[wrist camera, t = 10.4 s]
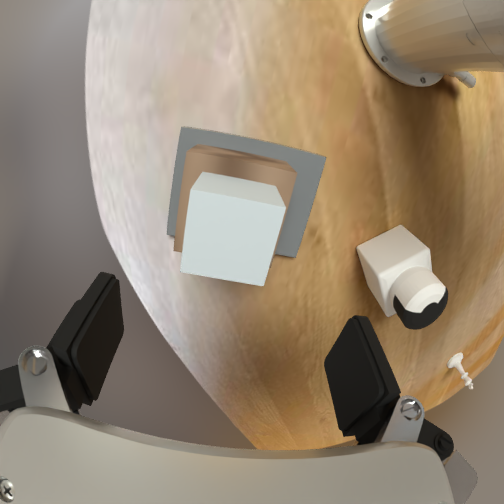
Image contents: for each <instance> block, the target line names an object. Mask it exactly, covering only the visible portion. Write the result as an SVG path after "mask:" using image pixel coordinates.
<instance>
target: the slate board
mask: <svg viewBox="0 0 504 504" xmlns="http://www.w3.org/2000/svg"><path fill="white" fill-rule="evenodd" d="M197 144H202V145H208V146H214V147H220V148H225V149H231V150H236V151H241V152H246V153H251V154H256V155H261V156H265V157H270V158H274V159H278V160H283V161H286V162H287V163H288V164H289V165H290V166H291V167H292V168H293V169H294V170H295V171H296V172H297V177H296V180H295V184H294V188H293V191H292V195H291V199H290V202H289V206H288V209H287V213H286V216H285V220H284V224H283V227H282V231H281V234H280V238H279V241H278V245H277V248H276V251H275V254H278V255H284V256H289V257H295V258H296V255H297V252H298V249H299V246H300V243H301V240H302V237H303V234H304V230H305V227H306V224H307V221H308V218H309V214H310V211H311V208H312V205H313V201H314V198H315V195H316V191H317V188H318V185H319V181H320V178H321V174H322V171H323V167H324V164H325V160H326V157H325V156H322V155H319V154H315V153H312V152H308V151H304V150H301V149H297V148H293V147H289V146H285V145H281V144H277V143H272V142H268V141H264V140H259V139H254V138H250V137H245V136H240V135H234V134H229V133H223V132H218V131H212V130H205V129H199V128H192V127H185V126H183V127H181V131H180V137H179V143H178V149H177V155H176V161H175V168H174V175H173V182H172V190H171V198H170V207H169V216H168V226H167V235H172V236H175V231H176V222H177V214H178V206H179V198H180V191H181V184H182V177H183V170H184V164H185V158H186V152H187V151H188V150H189V149H191V148H192V147H194V146H195V145H197Z"/></svg>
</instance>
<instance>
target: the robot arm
mask: <svg viewBox="0 0 504 504" xmlns="http://www.w3.org/2000/svg"><path fill="white" fill-rule="evenodd" d="M359 29H360V34H361V37H362V40H363V43H364V45H365V47H366V49H367V51H368V52H369V54H370V55H371V57H372V58H373V60H374V61H375V62H376V63H377V64H378V65H379V67H380V68H381V69H382V70H383V71H385V72H386V73H387V74H388V75H389V76H391V77H392V78H394V79H396V80H397V81H399V82H401V83H404V84H406V85H410V86H414V87H424V86H431V85H433V84H436V83H437V82H438V81H439V80H441V78H442V77H443V76H444V75H447V74H448V75H449V76H451V77H456V78H458V79H459V80H460V81H461V82H462V83H464V84H465V85H466V86H467V87H469V88H472V87H474V85H475V83H476V79H475V77H474V76H473V75H471V74H470V73H469V72H468V71H491V72H504V0H369V1H368V2H367V3H366V4H365V5H364V6H363V8H362V10H361V12H360V16H359ZM381 59H382V60H383V61H382V60H381ZM123 332H124V325H123V317H122V308H121V298H120V286H119V280H118V279H116V277H115V275H113V274H109V273H104V272H100V273H99V275H98V276H97V277H96V279H95V280H94V282H93V283H92V284H91V286H90V287H89V289H88V290H87V291H86V293H85V294H84V296H83V297H82V299H81V300H78V301H76V302H75V303H74V305H73V307H72V308H71V309H70V311H69V312H68V314H67V315H66V317H65V319H64V320H63V322H62V323H61V325H60V326H59V328H58V330H57V331H56V333H55V334H54V336H53V338H52V339H51V341H50V343H49V345H48V346H47V348H44V347H42V346H32V347H29V348H27V349H26V350H24V351H23V352H22V354H21V355H20V357H19V360H18V365H16V366H12V367H9V368H6V369H3V370H0V504H465V503H466V501H467V499H468V498H469V496H470V495H471V493H472V491H473V490H474V488H475V486H476V484H477V479H478V477H477V473H476V472H475V470H474V469H473V468H472V467H471V466H470V464H469V463H468V462H467V461H466V460H465V459H464V458H463V457H462V455H461V454H460V453H459V452H458V451H457V450H455V451H453V448H454V444H453V440H452V438H451V437H450V435H449V434H447V433H446V432H445V431H443V430H441V429H440V428H438V427H437V426H435V425H434V424H432V423H430V422H429V421H427V420H426V419H424V408H423V406H422V404H421V403H420V402H419V400H417V399H416V398H415V397H412V396H407V395H406V396H402V397H401V398H400V395H399V394H400V393H401V391H400V388H399V386H398V384H397V381H396V379H395V376H394V374H393V372H392V369H391V367H390V365H389V362H388V360H387V358H386V355H385V353H384V351H383V349H382V346H381V344H380V342H379V340H378V338H377V335H376V333H375V331H374V329H373V327H372V325H371V323H370V321H369V319H368V317H366V316H357V315H355V316H353V317H352V318H350V319H349V320H348V321H347V323H346V325H345V326H344V328H343V330H342V332H341V333H340V335H339V337H338V339H337V340H336V342H335V344H334V345H333V347H332V349H331V350H330V352H329V354H328V355H327V357H326V359H325V362H324V367H325V371H326V375H327V379H328V383H329V388H330V392H331V396H332V400H333V405H334V409H335V414H336V418H337V423H338V427H339V429H340V430H341V431H342V433H343V437H345V436H354V435H355V437H356V441H355V442H354V444H353V446H347V447H338V448H326V449H311V450H252V449H236V448H225V447H215V446H207V445H200V444H192V443H186V442H181V441H175V440H170V439H164V438H159V437H155V436H151V435H147V434H142V433H138V432H135V431H131V430H127V429H123V428H119V427H116V426H112V425H109V424H106V423H103V422H100V421H97V420H94V419H90V418H87V417H84V416H82V415H81V413H80V411H79V409H80V408H81V405H82V403H84V404H87V405H89V406H91V404H92V402H93V400H95V401H96V400H97V399H98V396H99V394H100V391H101V388H102V386H103V383H104V380H105V378H106V375H107V373H108V370H109V368H110V365H111V362H112V360H113V357H114V355H115V353H116V350H117V348H118V345H119V343H120V341H121V338H122V336H123Z"/></svg>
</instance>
